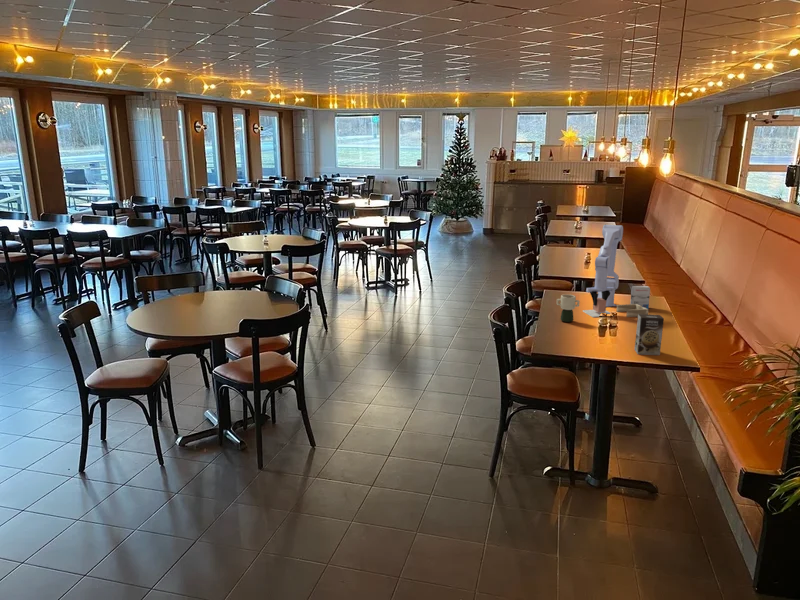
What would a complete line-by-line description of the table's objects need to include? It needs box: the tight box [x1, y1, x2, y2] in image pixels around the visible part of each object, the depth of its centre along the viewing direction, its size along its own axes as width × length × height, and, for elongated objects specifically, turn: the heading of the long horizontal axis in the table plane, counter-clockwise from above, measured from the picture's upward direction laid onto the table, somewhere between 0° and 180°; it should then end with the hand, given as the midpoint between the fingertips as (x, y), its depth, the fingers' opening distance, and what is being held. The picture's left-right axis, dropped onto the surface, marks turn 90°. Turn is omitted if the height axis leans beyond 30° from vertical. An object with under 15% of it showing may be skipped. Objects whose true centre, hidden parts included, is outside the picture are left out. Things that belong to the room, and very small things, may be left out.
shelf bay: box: [616, 303, 649, 318], centre depth 312 cm, size 11×11×4 cm
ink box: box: [629, 285, 651, 310], centre depth 322 cm, size 8×5×12 cm, turn 84°
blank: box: [592, 298, 607, 312], centre depth 311 cm, size 6×4×6 cm, turn 9°
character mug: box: [556, 294, 581, 323], centre depth 298 cm, size 11×7×13 cm, turn 71°
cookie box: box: [634, 313, 665, 356], centre depth 251 cm, size 9×6×16 cm
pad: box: [582, 309, 611, 318], centre depth 313 cm, size 12×12×1 cm
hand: (599, 305), depth 312 cm, fingers closed on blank, 4 cm apart
